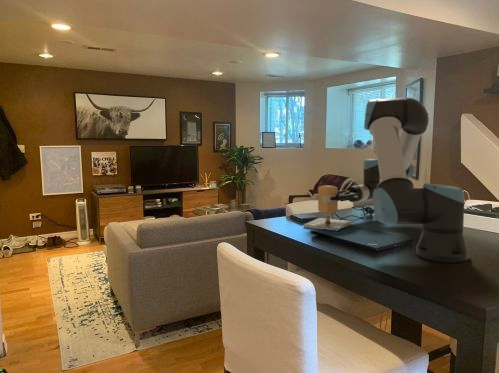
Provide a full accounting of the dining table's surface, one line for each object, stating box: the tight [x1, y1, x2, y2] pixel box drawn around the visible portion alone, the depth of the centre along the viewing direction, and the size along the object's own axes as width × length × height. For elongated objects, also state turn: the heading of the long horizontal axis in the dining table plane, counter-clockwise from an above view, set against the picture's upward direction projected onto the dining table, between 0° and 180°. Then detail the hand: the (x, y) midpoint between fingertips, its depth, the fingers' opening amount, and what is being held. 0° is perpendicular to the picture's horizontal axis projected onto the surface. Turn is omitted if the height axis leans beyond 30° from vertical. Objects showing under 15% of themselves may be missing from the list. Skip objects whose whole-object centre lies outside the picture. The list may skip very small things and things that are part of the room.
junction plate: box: [303, 215, 352, 230], centre depth 165 cm, size 16×16×4 cm
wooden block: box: [317, 185, 339, 214], centre depth 164 cm, size 6×6×12 cm
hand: (318, 198), depth 162 cm, fingers closed on wooden block, 6 cm apart
